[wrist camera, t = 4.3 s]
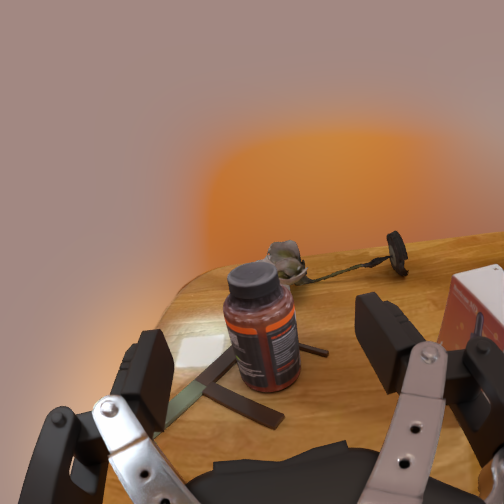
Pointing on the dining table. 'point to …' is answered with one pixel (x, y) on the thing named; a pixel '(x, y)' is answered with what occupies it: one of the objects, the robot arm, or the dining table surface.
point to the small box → (474, 308)
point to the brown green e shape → (226, 393)
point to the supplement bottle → (262, 327)
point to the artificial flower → (295, 273)
